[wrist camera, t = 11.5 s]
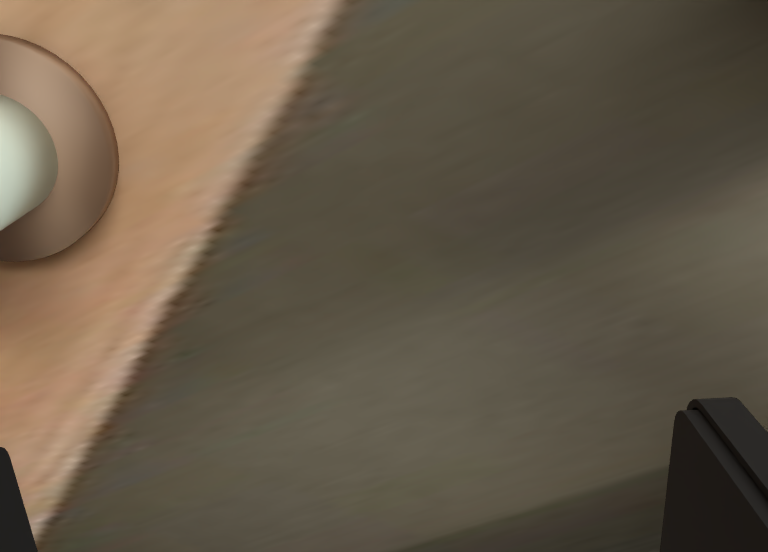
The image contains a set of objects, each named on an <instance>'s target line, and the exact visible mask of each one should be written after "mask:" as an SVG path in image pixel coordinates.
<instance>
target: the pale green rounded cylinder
mask: <svg viewBox="0 0 768 552" xmlns="http://www.w3.org/2000/svg"><path fill="white" fill-rule="evenodd" d="M57 173H58V158H57V152H56V148H55V145H54V142H53V140H52V137H51V135H50V134H49V132H48V130H47V128H46V127H45V126H44V124H43V123H42V122H41V120H40V119H39V118H38V117H37V116H36V115H35V114H34V113H33V112H32V111H30V110H29V109H28V108H27V107H25V106H24V105H22V104H21V103H19V102H17V101H15V100H13V99H11V98H9V97H6V96H4V95H0V231H1V230H2V229H4V228H5V227H7V226H8V225H10V224H11V223H13V222H14V221H16V220H17V219H19V218H20V217H22V216H23V215H25V214H26V213H28V212H29V211H31V210H32V209H34V208H35V207H37V206H38V205H39V204H41V203H42V202H43V201H44V200H45V199H46V198H47V197H48V195H49V194H50V192H51V191H52V189H53V187H54V184H55V182H56V178H57Z"/></svg>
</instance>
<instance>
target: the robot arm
mask: <svg viewBox="0 0 768 552" xmlns="http://www.w3.org/2000/svg"><path fill="white" fill-rule="evenodd" d="M0 552H38V551H37V548H36V544H35V541H34V538H33V534H32V531H31V527H30V524H29V521H28V517H27V514H26V510H25V507H24V504H23V500H22V497H21V494H20V490H19V487H18V483H17V480H16V477H15V473H14V470H13V466H12V463H11V460H10V456H9V454H8V452H7V451H6V449H5V448H2V447H0ZM660 552H768V433H767V431H766V430H765V429H764V428H763V427H762V426H761V424H760V423H759V422H758V421H757V420H756V419H755V418H754V416H753V415H752V414H751V413H750V412H749V411H748V410H747V408H746V407H745V406H744V405H743V404H742V403H741V402H740V401H739V400H738V399H737V398H732V397H729V398H711V399H693V400H692V401H690V403H689V404H688V406H687V410H683V411H678V412H677V414H676V416H675V421H674V429H673V438H672V447H671V456H670V465H669V474H668V483H667V492H666V501H665V510H664V519H663V528H662V537H661V546H660Z"/></svg>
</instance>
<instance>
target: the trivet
mask: <svg viewBox="0 0 768 552" xmlns="http://www.w3.org/2000/svg"><path fill="white" fill-rule="evenodd" d="M0 95H4V96H6V97H9V98H11V99H13V100H15V101H17V102H19V103H21V104H22V105H24V106H25V107H27V108H28V109H29V110H30V111H32V112H33V113H34V114H35V115H36V116H37V117H38V118H39V119H40V120H41V122H42V123H43V124H44V126H45V127H46V128H47V130H48V132H49V134H50V135H51V137H52V140H53V142H54V145H55V148H56V152H57V158H58V173H57V178H56V182H55V184H54V187H53V189H52V191H51V192H50V194H49V195H48V197H47V198H46V199H45V200H44V201H43V202H42V203H41V204H39V205H38V206H37V207H35V208H34V209H32V210H31V211H29V212H28V213H26V214H25V215H23V216H22V217H20V218H19V219H17V220H16V221H14V222H13V223H11V224H10V225H8V226H7V227H5V228H4V229H2V230H1V231H0V261H10V262H21V261H30V260H36V259H40V258H44V257H48V256H50V255H53V254H55V253H58V252H60V251H62V250H63V249H65V248H67V247H69V246H70V245H72V244H73V243H74V242H76V241H77V240H78V239H79V238H80V237H82V236H83V235H84V234H85V233H86V232H87V231H89V230H90V229H91V228H92V227H93V226H94V225H95V224H96V223H97V221H98V220H99V219H100V218H101V217H102V215H103V214H104V212H105V211H106V209H107V208H108V205H109V203H110V201H111V199H112V197H113V194H114V191H115V187H116V184H117V178H118V171H119V155H118V147H117V141H116V137H115V133H114V129H113V126H112V124H111V121H110V119H109V116H108V114H107V112H106V110H105V108H104V106H103V104H102V103H101V101H100V99H99V98H98V96H97V95H96V93H95V92H94V91H93V89H92V88H91V86H90V85H89V84H88V83H87V82H86V81H85V80H84V79H83V77H82V76H81V75H80V74H79V73H78V72H77V71H75V70H74V69H73V68H72V67H71V66H70V65H69V64H68V63H66V62H65V61H63V60H62V59H61V58H59V57H58V56H56V55H55V54H53V53H52V52H50V51H48V50H46V49H44V48H43V47H41V46H38V45H36V44H34V43H31V42H29V41H26V40H23V39H20V38H16V37H12V36H8V35H1V34H0Z"/></svg>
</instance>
